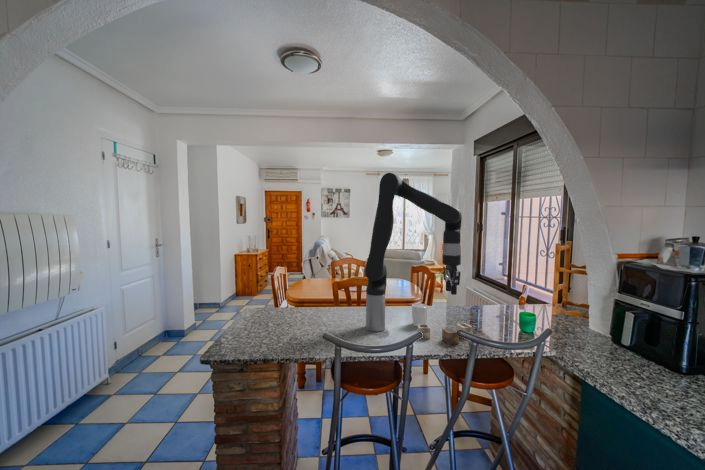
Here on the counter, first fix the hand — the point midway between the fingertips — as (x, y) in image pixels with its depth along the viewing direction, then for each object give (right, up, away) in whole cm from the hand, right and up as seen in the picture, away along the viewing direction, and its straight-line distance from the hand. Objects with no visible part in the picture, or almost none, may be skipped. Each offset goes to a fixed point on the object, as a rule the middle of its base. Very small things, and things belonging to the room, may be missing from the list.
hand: (451, 292), depth 120 cm
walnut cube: (0, -22, +1) cm, 22 cm away
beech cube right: (+9, -21, +8) cm, 24 cm away
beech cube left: (-10, -21, +6) cm, 25 cm away
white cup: (-8, -21, +21) cm, 31 cm away
